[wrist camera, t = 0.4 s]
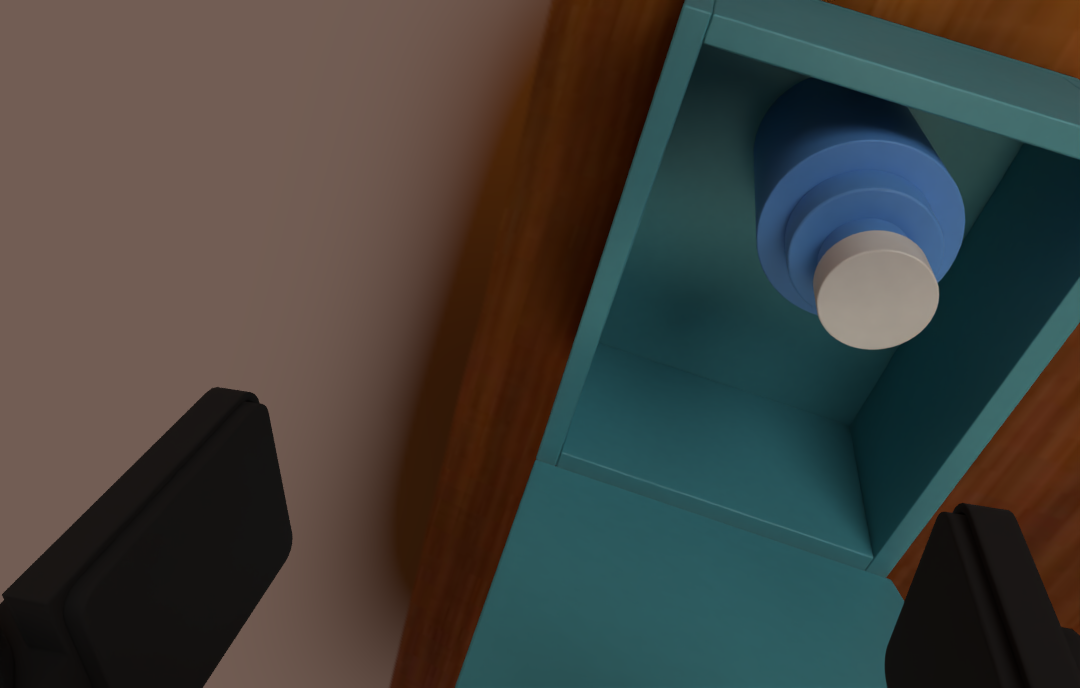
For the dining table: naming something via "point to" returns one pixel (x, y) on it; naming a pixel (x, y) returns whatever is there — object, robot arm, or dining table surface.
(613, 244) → the teal wooden box
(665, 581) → the lid
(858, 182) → the bottle
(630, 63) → the dining table surface
